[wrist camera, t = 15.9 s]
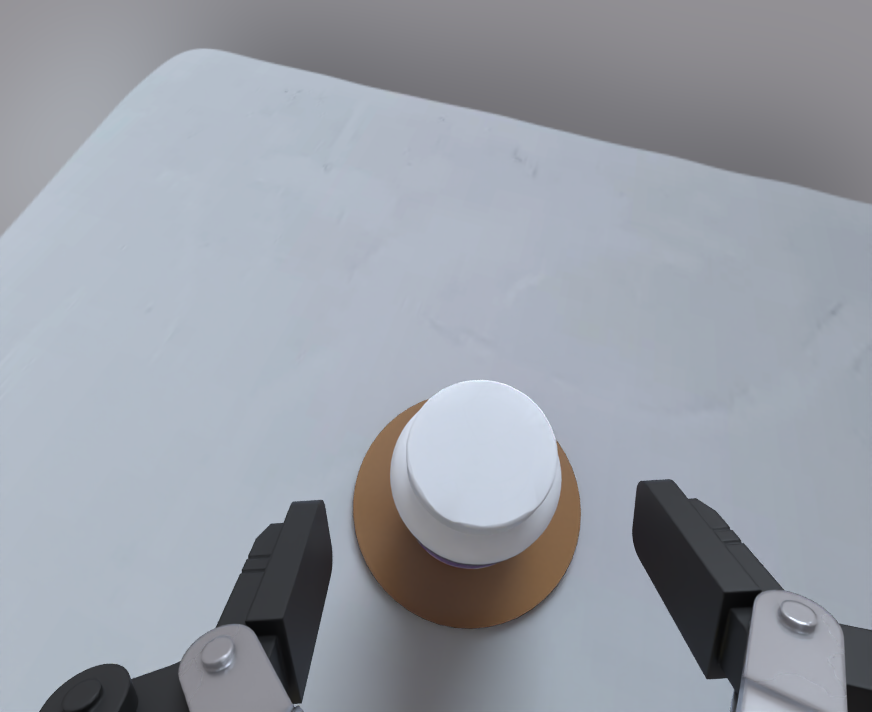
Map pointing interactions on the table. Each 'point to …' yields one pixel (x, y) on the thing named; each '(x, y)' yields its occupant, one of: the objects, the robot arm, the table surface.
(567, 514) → the coaster
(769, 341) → the table surface
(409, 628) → the table surface
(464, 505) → the pill bottle
